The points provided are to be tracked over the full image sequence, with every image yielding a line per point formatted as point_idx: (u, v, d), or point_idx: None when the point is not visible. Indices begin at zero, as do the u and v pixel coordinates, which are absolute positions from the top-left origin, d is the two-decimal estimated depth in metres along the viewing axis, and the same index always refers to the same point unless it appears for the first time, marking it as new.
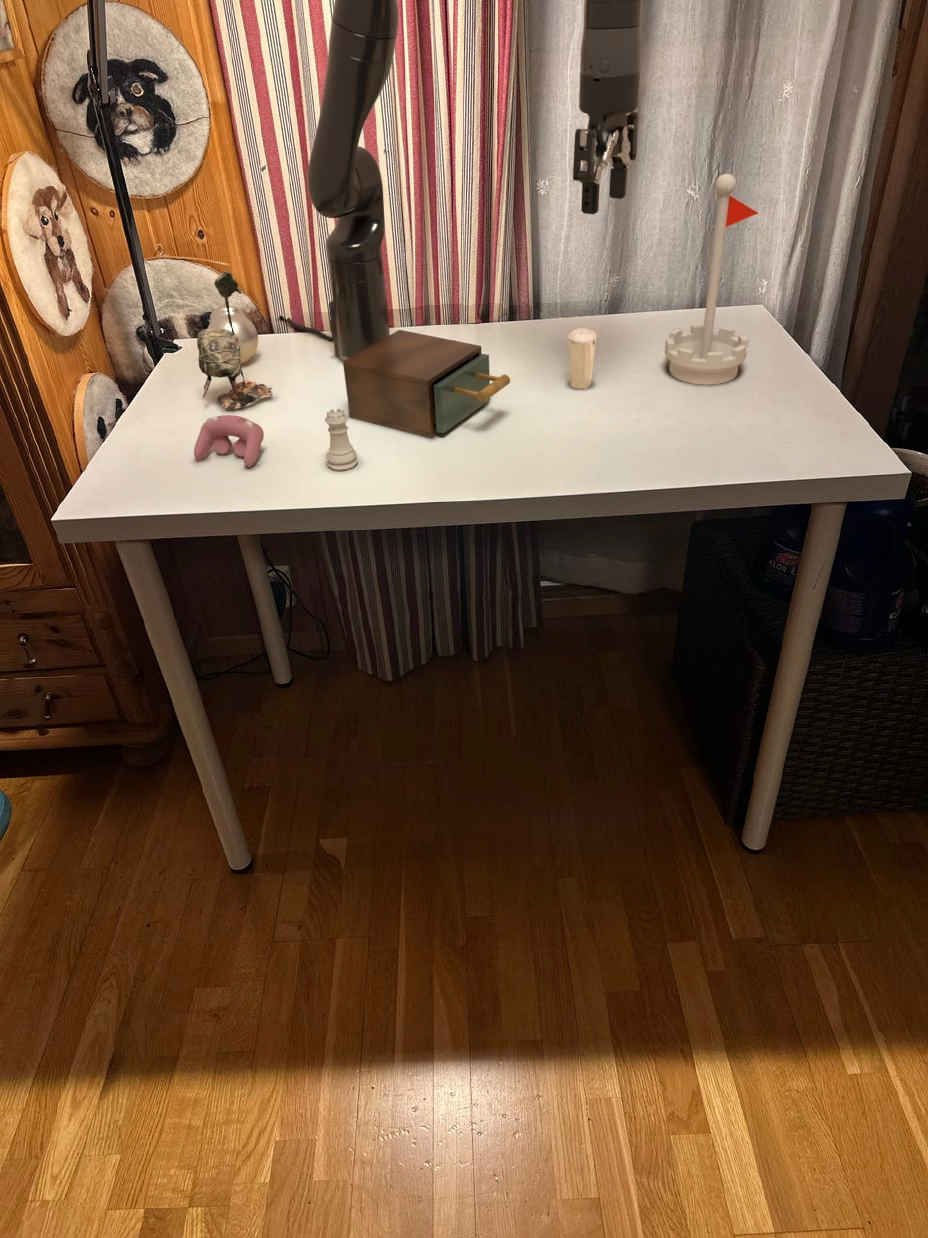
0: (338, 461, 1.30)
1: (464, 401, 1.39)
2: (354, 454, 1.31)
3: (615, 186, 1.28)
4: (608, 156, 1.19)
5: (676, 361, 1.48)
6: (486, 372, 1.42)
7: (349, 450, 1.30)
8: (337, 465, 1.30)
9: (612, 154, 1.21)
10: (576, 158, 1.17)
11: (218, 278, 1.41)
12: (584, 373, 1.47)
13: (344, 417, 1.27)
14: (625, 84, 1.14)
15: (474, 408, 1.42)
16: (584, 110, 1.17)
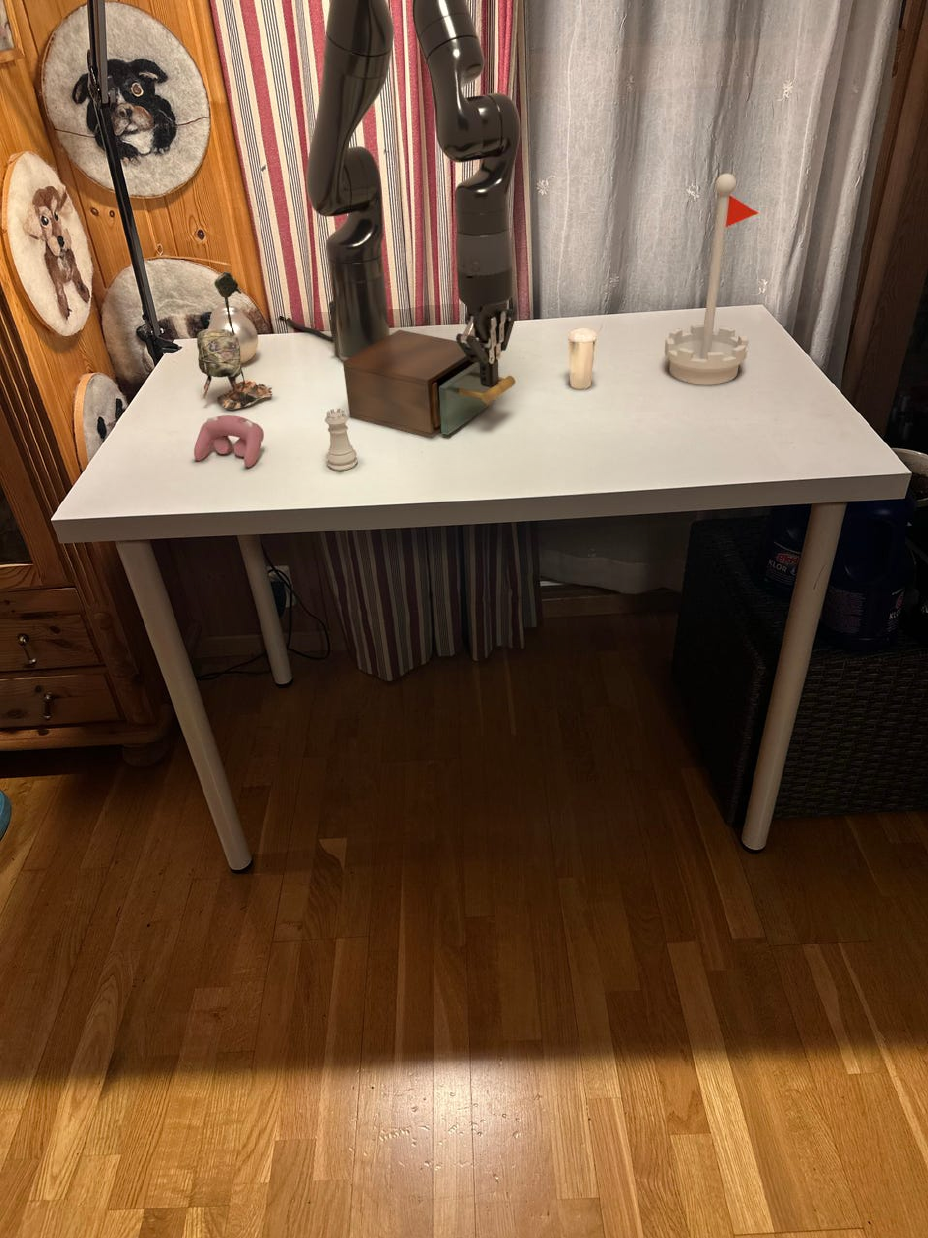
0: (338, 461, 1.30)
1: (469, 402, 1.38)
2: (354, 454, 1.31)
3: None
4: (494, 339, 1.29)
5: (676, 361, 1.48)
6: None
7: (349, 450, 1.30)
8: (337, 465, 1.30)
9: None
10: (466, 352, 1.29)
11: (218, 278, 1.41)
12: (584, 373, 1.47)
13: (344, 417, 1.27)
14: (496, 280, 1.23)
15: (479, 409, 1.41)
16: (462, 300, 1.26)
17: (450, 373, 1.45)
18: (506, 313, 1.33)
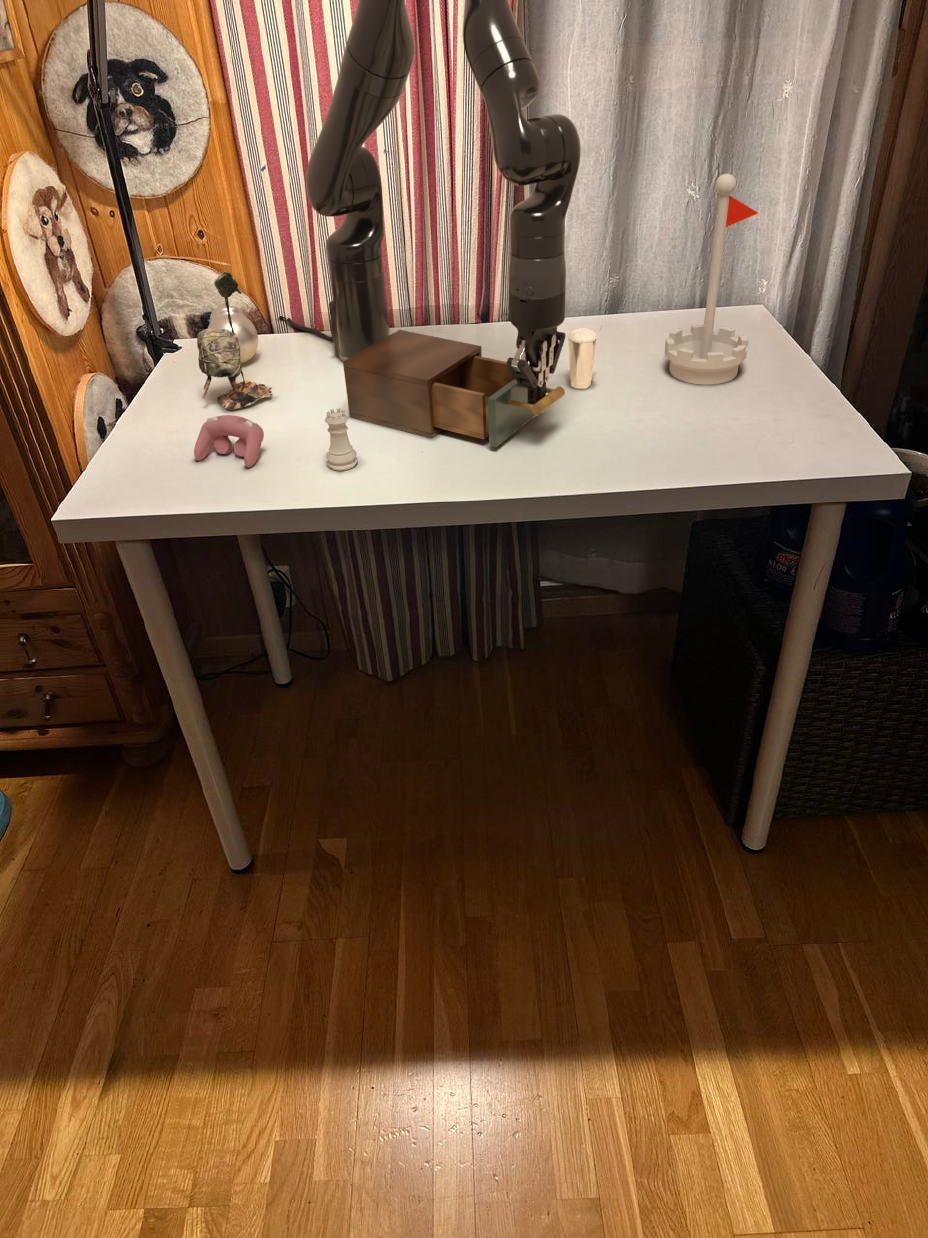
0: (338, 461, 1.30)
1: (517, 413, 1.35)
2: (354, 454, 1.31)
3: None
4: (544, 363, 1.27)
5: (676, 361, 1.48)
6: None
7: (349, 450, 1.30)
8: (337, 465, 1.30)
9: None
10: (516, 376, 1.27)
11: (218, 278, 1.41)
12: (584, 373, 1.47)
13: (344, 417, 1.27)
14: (550, 305, 1.21)
15: (526, 420, 1.38)
16: (513, 324, 1.24)
17: (495, 383, 1.41)
18: (555, 335, 1.30)
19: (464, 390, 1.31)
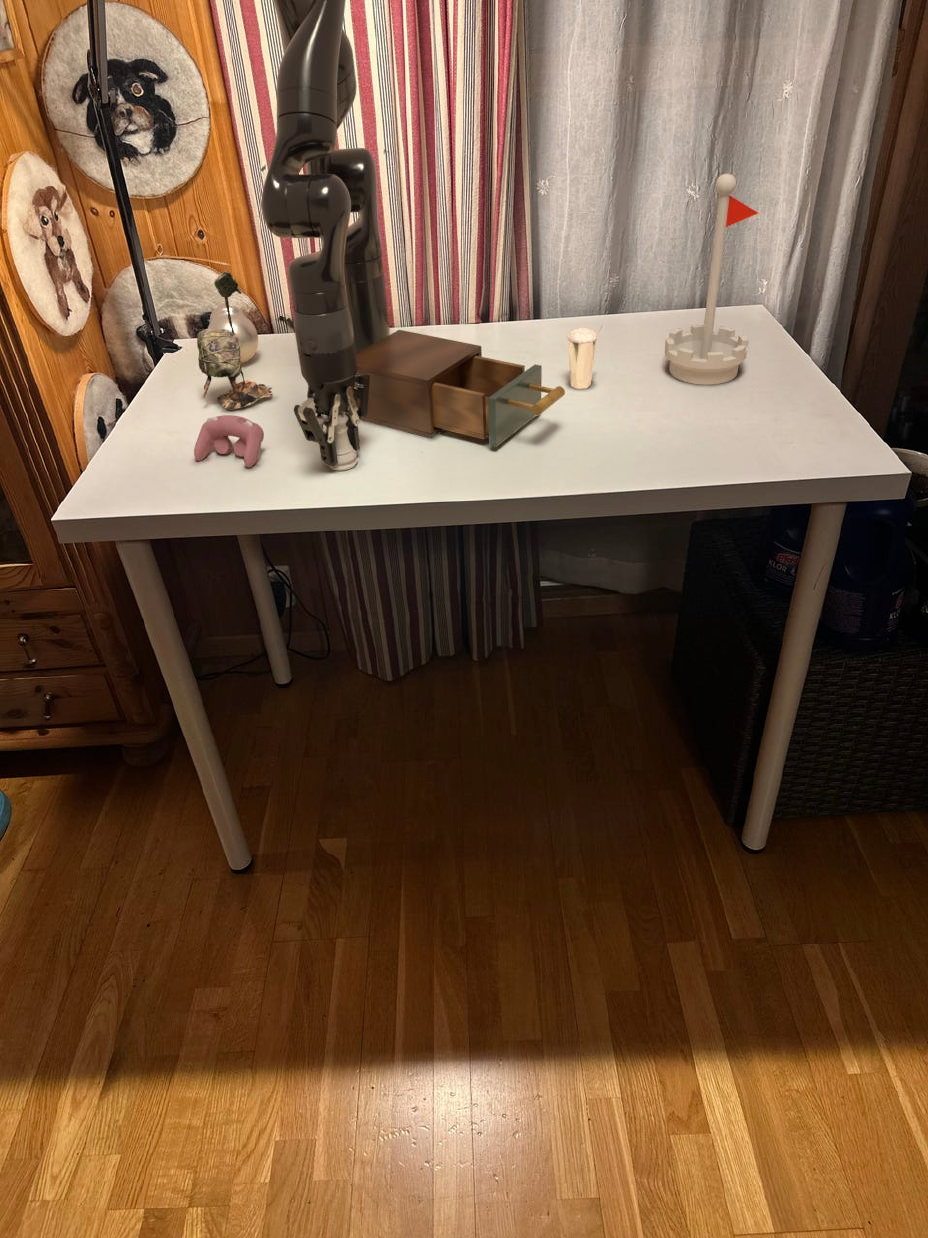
0: (338, 461, 1.30)
1: (517, 413, 1.35)
2: (354, 454, 1.31)
3: None
4: (335, 417, 1.25)
5: (676, 361, 1.48)
6: (539, 383, 1.38)
7: (349, 450, 1.30)
8: (337, 465, 1.30)
9: (339, 411, 1.26)
10: (303, 428, 1.24)
11: (218, 278, 1.41)
12: (584, 373, 1.47)
13: (344, 417, 1.27)
14: (335, 359, 1.19)
15: (526, 420, 1.38)
16: None
17: (495, 383, 1.41)
18: (358, 380, 1.29)
19: (464, 390, 1.31)
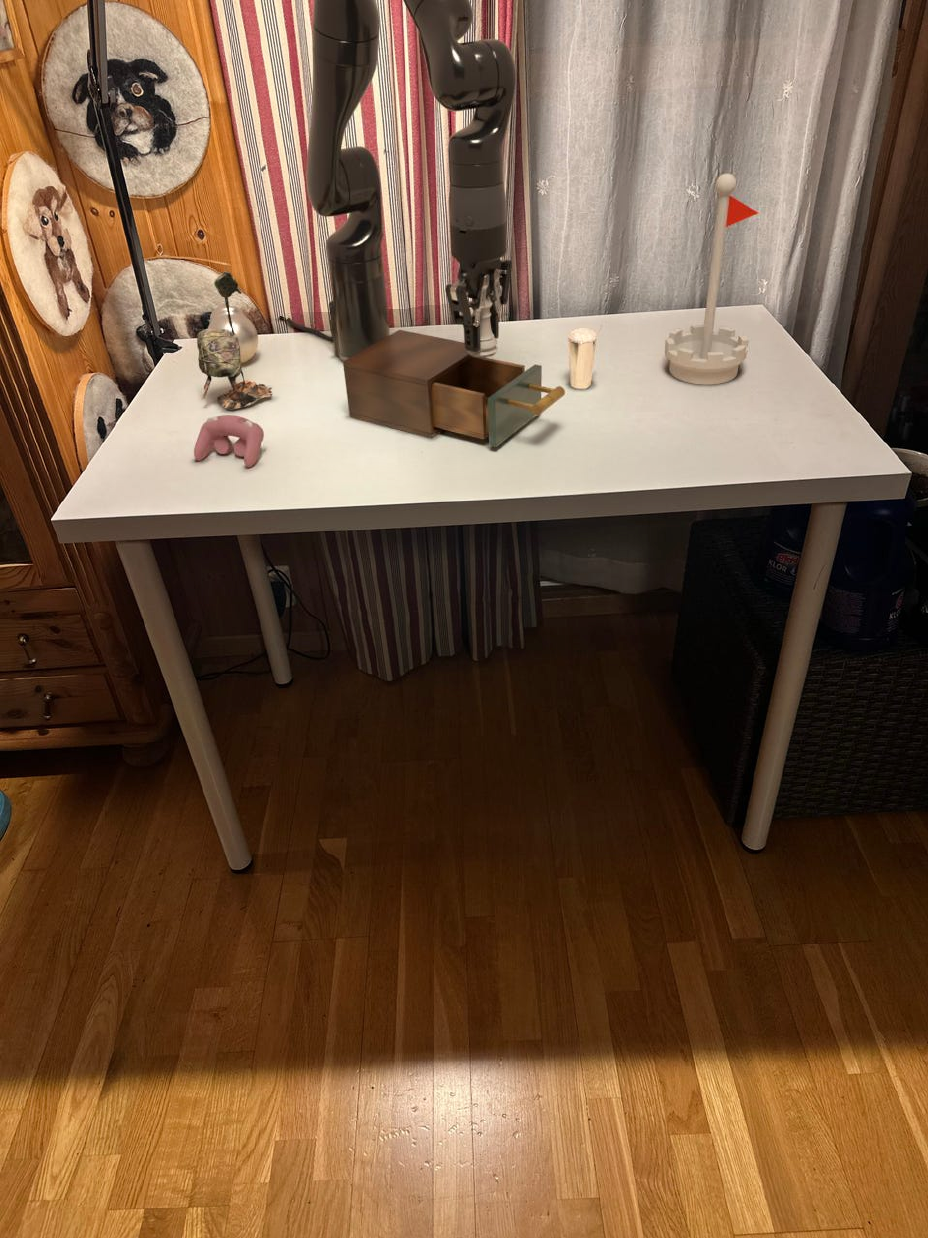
0: (481, 347, 1.30)
1: (517, 413, 1.35)
2: (495, 341, 1.31)
3: None
4: (483, 300, 1.26)
5: (676, 361, 1.48)
6: (539, 383, 1.38)
7: (491, 336, 1.31)
8: (479, 352, 1.31)
9: (485, 294, 1.27)
10: (452, 309, 1.25)
11: (218, 278, 1.41)
12: (584, 373, 1.47)
13: (489, 301, 1.28)
14: (490, 236, 1.20)
15: (526, 420, 1.38)
16: (454, 257, 1.23)
17: (495, 383, 1.41)
18: (501, 266, 1.29)
19: (464, 390, 1.31)
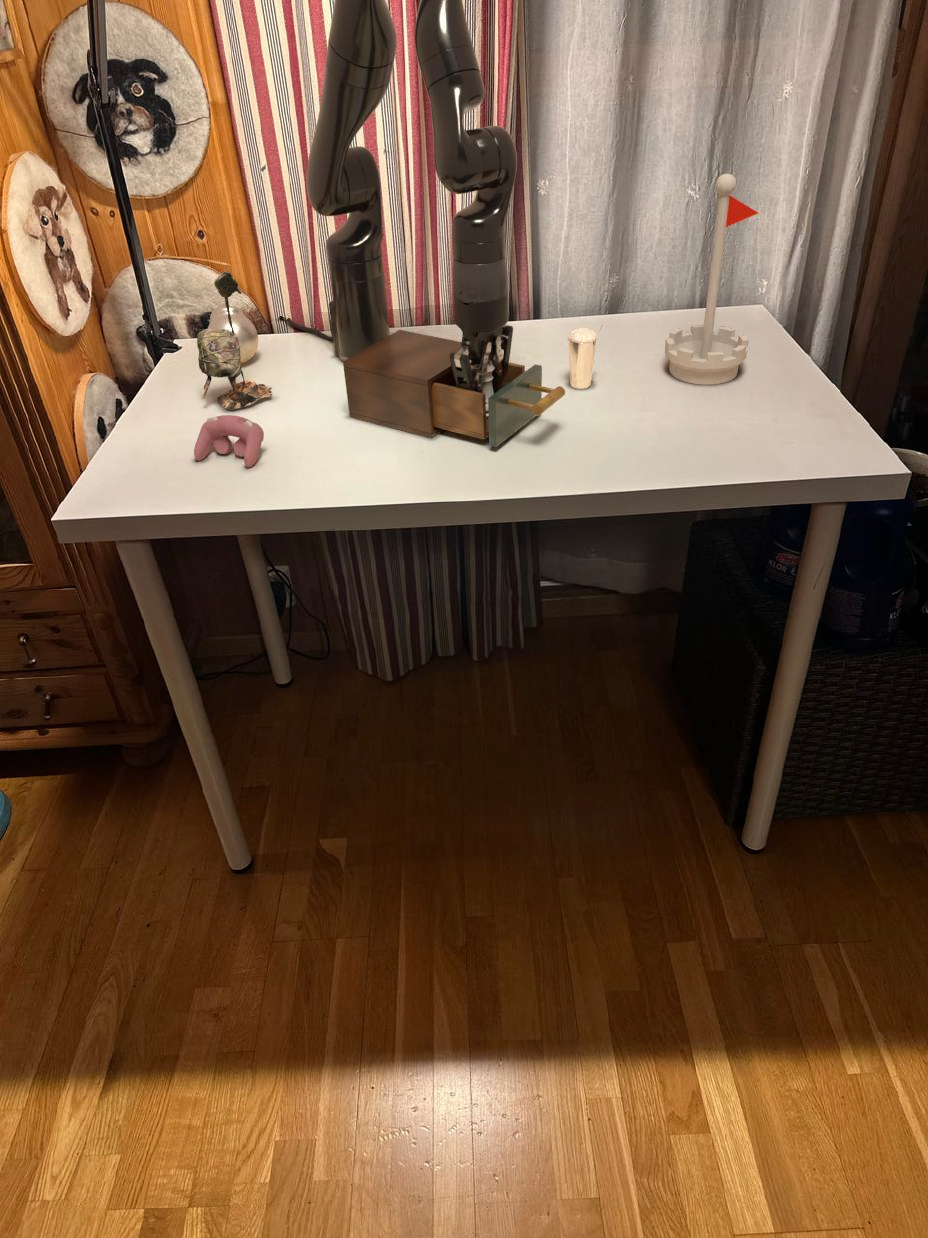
0: None
1: (517, 413, 1.35)
2: None
3: None
4: (485, 365, 1.31)
5: (676, 361, 1.48)
6: (539, 383, 1.38)
7: None
8: None
9: (487, 359, 1.33)
10: (456, 375, 1.30)
11: (218, 278, 1.41)
12: (584, 373, 1.47)
13: (491, 366, 1.34)
14: (492, 307, 1.26)
15: (526, 420, 1.38)
16: (458, 326, 1.29)
17: None
18: (503, 331, 1.35)
19: (464, 390, 1.31)
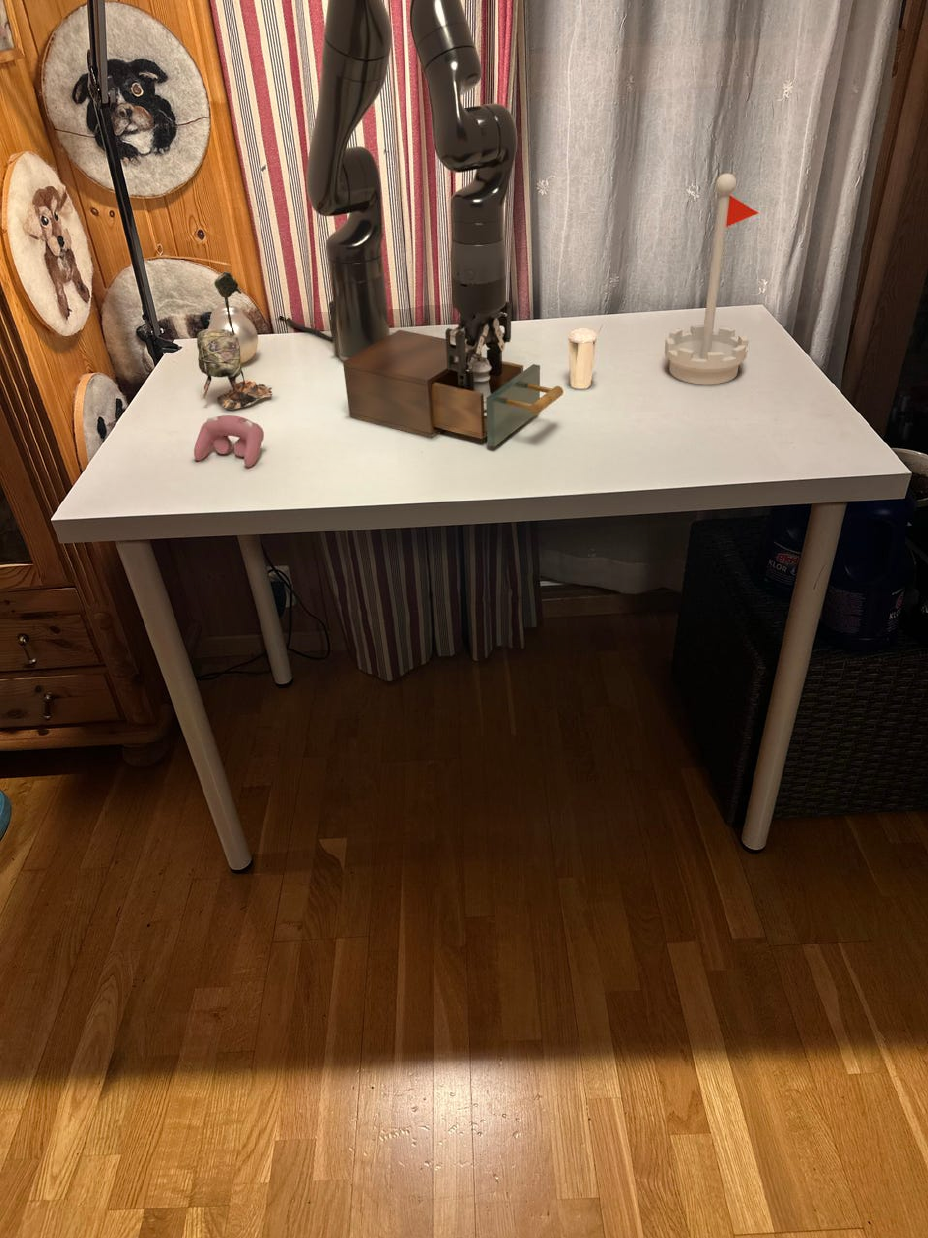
0: None
1: (515, 413, 1.35)
2: None
3: (491, 365, 1.38)
4: (479, 348, 1.29)
5: (676, 361, 1.48)
6: (537, 383, 1.38)
7: None
8: None
9: (484, 342, 1.31)
10: (448, 353, 1.28)
11: (218, 278, 1.41)
12: (584, 373, 1.47)
13: (488, 366, 1.34)
14: (490, 289, 1.24)
15: (524, 420, 1.38)
16: (455, 307, 1.27)
17: (494, 383, 1.41)
18: (501, 309, 1.33)
19: (462, 390, 1.31)
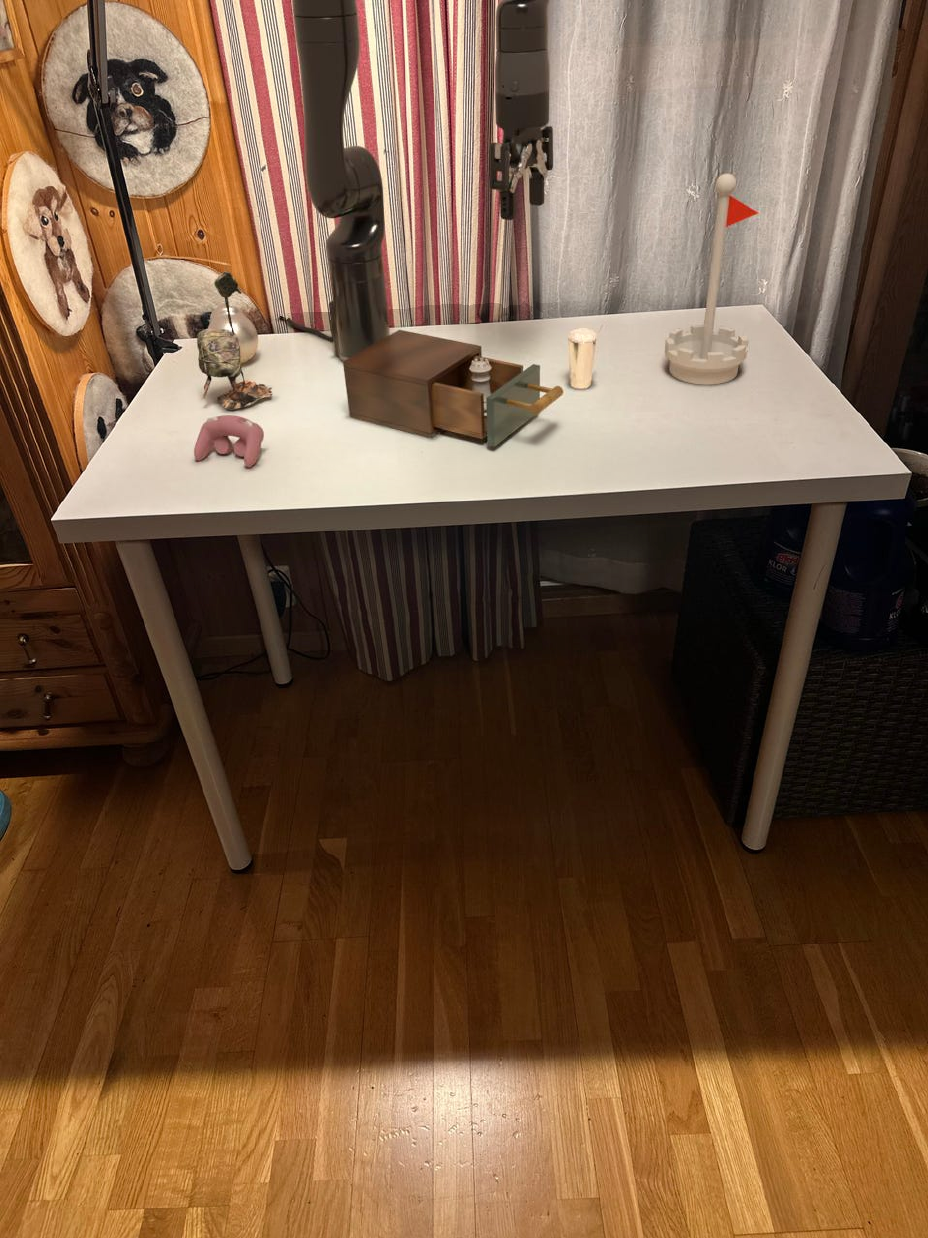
0: None
1: (515, 413, 1.35)
2: None
3: (534, 194, 1.39)
4: (522, 167, 1.30)
5: (676, 361, 1.48)
6: (537, 383, 1.38)
7: None
8: None
9: (527, 165, 1.33)
10: (492, 169, 1.29)
11: (218, 278, 1.41)
12: (584, 373, 1.47)
13: (488, 366, 1.34)
14: (534, 102, 1.26)
15: (524, 420, 1.38)
16: (499, 125, 1.29)
17: (494, 383, 1.41)
18: (543, 134, 1.35)
19: (462, 390, 1.31)
